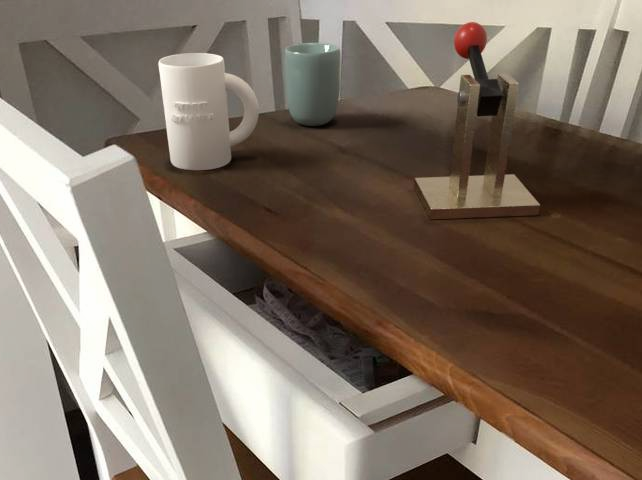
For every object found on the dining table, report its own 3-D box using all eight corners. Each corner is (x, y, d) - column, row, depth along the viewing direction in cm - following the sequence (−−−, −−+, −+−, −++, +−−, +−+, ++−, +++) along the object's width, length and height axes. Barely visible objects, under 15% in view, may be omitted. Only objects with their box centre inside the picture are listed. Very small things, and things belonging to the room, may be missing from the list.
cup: (348, 120, 111) (350, 45, 105) (321, 133, 106) (321, 56, 100) (305, 113, 114) (304, 40, 108) (276, 125, 109) (274, 50, 103)
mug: (263, 168, 94) (258, 64, 87) (169, 172, 93) (156, 68, 86) (259, 148, 101) (254, 50, 93) (171, 152, 100) (159, 54, 92)
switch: (449, 46, 85) (454, 15, 81) (479, 46, 85) (486, 14, 82) (468, 122, 78) (476, 91, 75) (502, 120, 78) (510, 90, 75)
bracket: (413, 187, 88) (423, 69, 80) (512, 184, 88) (531, 66, 80) (430, 219, 80) (442, 92, 72) (538, 215, 81) (562, 88, 73)
